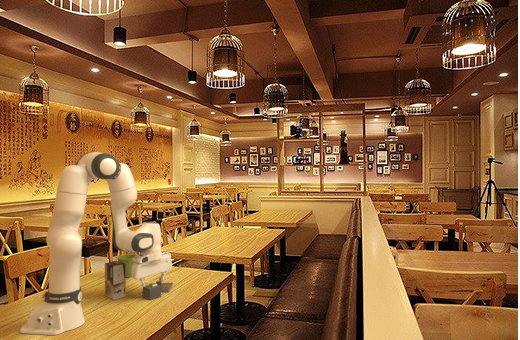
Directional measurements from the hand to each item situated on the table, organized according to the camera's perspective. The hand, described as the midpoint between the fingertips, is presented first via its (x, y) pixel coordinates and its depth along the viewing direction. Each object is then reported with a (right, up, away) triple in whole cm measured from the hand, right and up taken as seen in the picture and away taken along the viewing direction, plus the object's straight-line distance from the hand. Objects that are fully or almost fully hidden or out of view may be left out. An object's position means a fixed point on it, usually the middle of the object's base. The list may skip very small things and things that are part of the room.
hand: (153, 283), depth 180 cm
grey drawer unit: (-1, -6, 0) cm, 6 cm away
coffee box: (-19, -7, +2) cm, 20 cm away
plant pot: (-24, -6, +33) cm, 41 cm away
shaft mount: (0, -6, +12) cm, 13 cm away
